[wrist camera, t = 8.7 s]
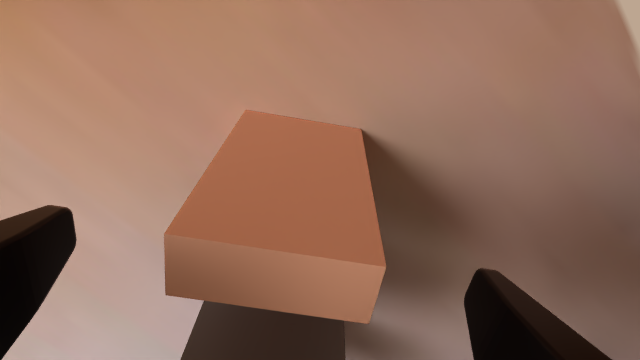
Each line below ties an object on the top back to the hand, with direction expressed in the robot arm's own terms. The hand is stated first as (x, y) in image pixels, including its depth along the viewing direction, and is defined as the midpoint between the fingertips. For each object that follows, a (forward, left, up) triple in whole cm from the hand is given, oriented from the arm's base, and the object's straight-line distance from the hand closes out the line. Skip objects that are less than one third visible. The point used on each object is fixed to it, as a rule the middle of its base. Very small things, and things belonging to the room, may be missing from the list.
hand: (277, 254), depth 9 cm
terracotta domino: (0, 0, -7) cm, 7 cm away
